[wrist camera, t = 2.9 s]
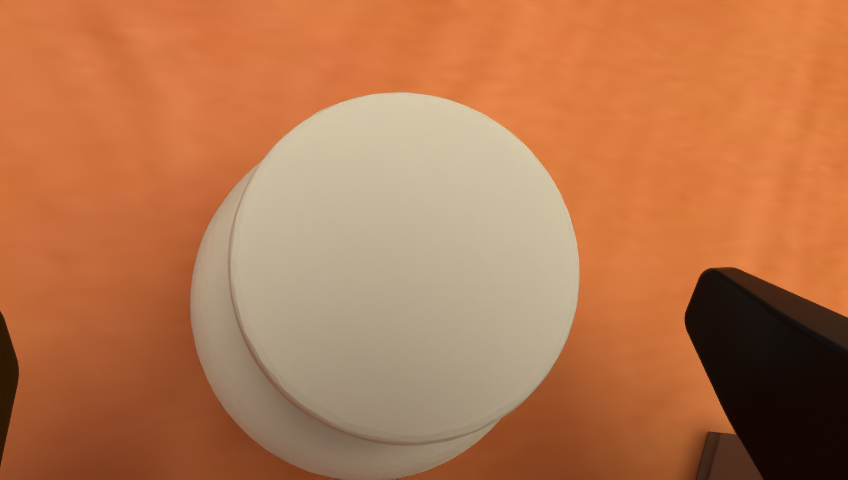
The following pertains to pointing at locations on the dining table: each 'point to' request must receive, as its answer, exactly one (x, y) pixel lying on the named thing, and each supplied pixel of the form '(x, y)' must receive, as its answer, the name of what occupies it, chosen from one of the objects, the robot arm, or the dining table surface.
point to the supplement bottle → (384, 287)
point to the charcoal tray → (726, 459)
